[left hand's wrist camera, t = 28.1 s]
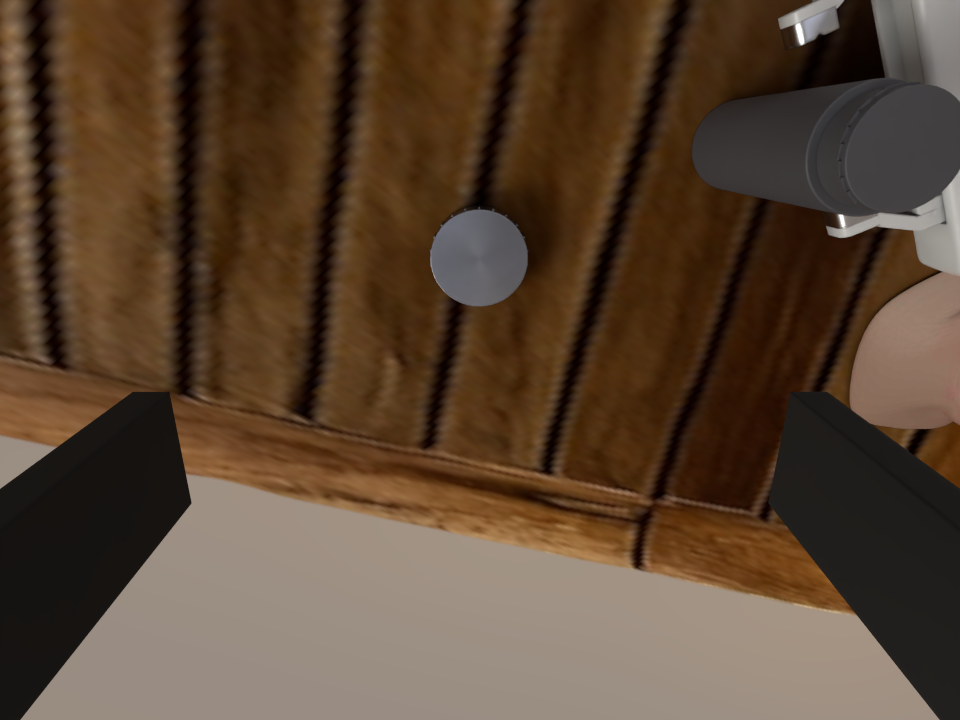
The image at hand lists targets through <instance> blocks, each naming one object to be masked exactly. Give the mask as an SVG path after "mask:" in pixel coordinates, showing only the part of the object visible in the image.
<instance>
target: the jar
mask: <svg viewBox="0 0 960 720" xmlns="http://www.w3.org/2000/svg"><path fill="white" fill-rule="evenodd" d="M692 159H693V163H694V166H695V169H696V171H697V173H698V174H699V176H700V177H701V178H702V179H703V180H704V181H705V182H706V183H708V184H709V185H711V186H713V187H715V188H718V189H722V190H726V191H731V192H736V193H741V194H745V195H750V196H755V197H759V198H764V199H769V200H774V201H778V202H783V203H788V204H793V205H797V206H802V207H807V208H811V209H816V210H821V211H826V212H830V213H835V214H840V215H845V216H852V217H861V216H869V215H873V214H877V213H880V212H883V213H901V212H905V211H909V210H912V209H915V208H918V207H920V206H922V205H924V204H926V203H928V202H929V201H931V200H932V199H934V198H935V197H936V196H938V195H939V194H940V193H941V192H942V191H943V190H944V189H946V188H947V186H948V185H949V184H950V183H951V182H952V181H953V179H954V178H955V176H956V175H957V174H958V172H959V170H960V101H959V100H958V99H957V98H956V97H955V96H954V95H953V94H951V93H950V92H948V91H947V90H945V89H943V88H940V87H938V86H934V85H929V84H923V83H920V82H907V81H904V80H901V79H896V78H878V79H871V80H864V81H857V82H851V83H844V84H837V85H831V86H824V87H817V88H811V89H804V90H798V91H791V92H784V93H778V94H771V95H764V96H758V97H751V98H745V99H738V100H732V101H728V102H726V103H723V104H721V105H719V106H718V107H716V108H715V109H713V110H712V111H711V112H710V113H709V114H708V115H707V116H706V117H705V118H704V119H703V121H702V122H701V123H700V125H699V127H698V129H697V131H696V133H695V136H694V140H693V145H692Z"/></svg>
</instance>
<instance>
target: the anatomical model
mask: <svg viewBox="0 0 960 720" xmlns="http://www.w3.org/2000/svg"><path fill="white" fill-rule="evenodd" d="M850 406H851V410H852V411H854V412H855V413H856V414H858V415H859V416H861V417H862V418H863V419H865V420H866V421H867V422H869V423H870V424H874V425H879V426H887V427H894V428H901V429H930V428H937V427H941V426H945V425H947V424H949V423H951V422H953V421H954V422H955V423H957V424H959V425H960V276H956V275H952V274H948V273H945V272H941V273H939V274H937V275H934V276H932V277H930V278H928V279H926V280H924V281H922V282H920V283H919V284H917V285H915V286H913V287H911V288H910V289H908V290H906V291H904V292H903V293H901V294H899V295H898V296H897V297H895V298H894V299H892V300H891V301H890V302H888V303H887V304H886V305H885V306H884V307H883V308H882V309H881V310H880V311H879V312H878V313H877V314H876V315H875V316H874V318H873V319H872V321H871V322H870V324H869V325H868V327H867V329H866V331H865V333H864V335H863V337H862V340H861V342H860V344H859V347H858V350H857V354H856V357H855V361H854V366H853V370H852V377H851V383H850Z"/></svg>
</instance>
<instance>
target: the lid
mask: <svg viewBox="0 0 960 720" xmlns="http://www.w3.org/2000/svg"><path fill="white" fill-rule="evenodd" d="M433 238H435V239H434V241H433V244H432V247H431V249H430V252H431V258H430V259H431V264H430V265H431V267H432V272H433V275H434V278H435V279H436V281H437V283H438V284H439V286H440V287H441V289H442V290H443V291H444V292H445V293H446V294H447V295H448V296H450V297H451V298H453V299H454V300H456V301H458V302H460V303H463V304H466V305H470V306H489V305H493V304H496V303H498V302H501V301H503V300H504V299H506V298H507V297H509V296H510V295H511V294H512V293H513V292H514V291H515V290H516V289H517V288H518V287H519V285H520V284H521V282H522V280H523V278H524V276H525V273H526V269H527V266H528V248H527V246H526V243H525V240H524V238H525V237H524V234H523V232H522V233H521V231H520V229H519V228H518V225H517V223H516V221H513V220H512V219H511V218H510V217H509V216H508V215H507V214H506V212H502V211H500V210H498V209H496V208H494V206H492V207H489V206H481V205H480V204H478V206H470V207H466V206H465V208H463V209H460V210H458V211H456V212H455V213H454V212H452V215H451V216H449V217H448V218H447V219H446V220H445V221H443V222H442V224H441V227H440V228H439V230H438V232H437V233H435V235H434V237H433Z"/></svg>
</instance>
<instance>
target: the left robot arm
mask: <svg viewBox="0 0 960 720" xmlns="http://www.w3.org/2000/svg"><path fill="white" fill-rule="evenodd" d="M190 505H191V498H190V493H189V488H188V483H187V478H186V473H185V468H184V463H183V458H182V453H181V448H180V443H179V438H178V433H177V428H176V423H175V418H174V413H173V408H172V403H171V398H170V393H169V392H132V393H131V394H130V395H128V396H127V397H125V398H124V399H123V400H121V401H120V402H119V403H117V404H116V405H114V406H113V407H112V408H110V409H109V410H108V411H106V412H105V413H104V414H102V415H101V416H99V417H98V418H97V419H95V420H94V421H93V422H91V423H90V424H88V425H87V426H86V427H84V428H83V429H82V430H80V431H79V432H78V433H76V434H75V435H73V436H72V437H71V438H69V439H68V440H67V441H65V442H64V443H62V444H61V445H60V446H58V447H57V448H56V449H54V450H53V451H52V452H50V453H49V454H47V455H46V456H45V457H43V458H42V459H41V460H39V461H38V462H36V463H35V464H34V465H32V466H31V467H30V468H28V469H27V470H25V471H24V472H23V473H21V474H20V475H19V476H17V477H16V478H15V479H13V480H12V481H10V482H9V483H8V484H6V485H5V486H4V487H2V488H1V489H0V720H20V719H21V718H22V717H23V716H24V714H25V713H26V712H27V711H28V709H29V708H30V707H31V705H32V704H33V703H34V702H35V700H36V699H37V698H38V697H39V695H40V694H41V693H42V692H43V690H44V689H45V688H46V687H47V685H48V684H49V683H50V682H51V680H52V679H53V678H54V676H55V675H56V674H57V673H58V671H59V670H60V669H61V668H62V666H63V665H64V664H65V663H66V661H67V660H68V659H69V657H70V656H71V655H72V654H73V652H74V651H75V650H76V649H77V647H78V646H79V645H80V644H81V642H82V641H83V640H84V639H85V637H86V636H87V635H88V633H89V632H90V631H91V630H92V628H93V627H94V626H95V625H96V623H97V622H98V621H99V620H100V618H101V617H102V616H103V615H104V613H105V612H106V611H107V609H108V608H109V607H110V606H111V604H112V603H113V602H114V601H115V599H116V598H117V597H118V596H119V594H120V593H121V592H122V590H123V589H124V588H125V587H126V585H127V584H128V583H129V582H130V580H131V579H132V578H133V577H134V575H135V574H136V573H137V572H138V570H139V569H140V568H141V566H142V565H143V564H144V563H145V561H146V560H147V559H148V558H149V556H150V555H151V554H152V553H153V551H154V550H155V549H156V547H157V546H158V545H159V544H160V542H161V541H162V540H163V539H164V537H165V536H166V535H167V534H168V532H169V531H170V530H171V529H172V527H173V526H174V525H175V523H176V522H177V521H178V520H179V518H180V517H181V516H182V515H183V513H184V512H185V511H186V510H187V508H188V507H189V506H190ZM769 505H770V506H771V507H772V508H773V510H774V511H775V512H776V513H777V515H778V516H779V517H780V518H781V520H782V521H783V522H784V523H785V525H786V526H787V527H788V529H789V530H790V531H791V532H792V534H793V535H794V536H795V537H796V539H797V540H798V541H799V542H800V544H801V545H802V546H803V547H804V549H805V550H806V551H807V553H808V554H809V555H810V556H811V558H812V559H813V560H814V561H815V563H816V564H817V565H818V566H819V568H820V569H821V570H822V572H823V573H824V574H825V575H826V577H827V578H828V579H829V580H830V582H831V583H832V584H833V585H834V587H835V588H836V589H837V590H838V592H839V593H840V594H841V596H842V597H843V598H844V599H845V601H846V602H847V603H848V604H849V606H850V607H851V608H852V609H853V611H854V612H855V613H856V615H857V616H858V617H859V618H860V619H861V621H862V622H863V623H864V625H865V626H866V627H867V628H868V630H869V631H870V632H871V633H872V635H873V636H874V637H875V639H876V640H877V641H878V642H879V644H880V645H881V646H882V647H883V649H884V650H885V651H886V652H887V654H888V655H889V656H890V657H891V659H892V660H893V661H894V663H895V664H896V665H897V666H898V668H899V669H900V670H901V671H902V673H903V674H904V675H905V676H906V678H907V679H908V680H909V681H910V683H911V684H912V685H913V687H914V688H915V689H916V690H917V692H918V693H919V694H920V695H921V697H922V698H923V699H924V700H925V702H926V703H927V704H928V706H929V707H930V708H931V709H932V711H933V712H934V713H935V714H936V716H937V717H938V718H939V719H940V720H960V489H959V488H958V487H956V486H955V485H954V484H952V483H951V482H950V481H948V480H947V479H945V478H944V477H943V476H941V475H940V474H939V473H937V472H936V471H935V470H933V469H932V468H930V467H929V466H928V465H926V464H925V463H924V462H922V461H921V460H919V459H918V458H917V457H915V456H914V455H913V454H911V453H910V452H908V451H907V450H906V449H904V448H903V447H902V446H900V445H899V444H898V443H896V442H895V441H893V440H892V439H891V438H889V437H888V436H887V435H885V434H884V433H882V432H881V431H880V430H878V429H877V428H876V427H874V426H873V425H872V424H870V423H869V422H867V421H866V420H865V419H863V418H862V417H861V416H859V415H858V414H856V413H855V412H854V411H852V410H851V409H850V408H848V407H847V406H846V405H844V404H843V403H841V402H840V401H839V400H837V399H836V398H835V397H833V396H832V395H830V394H829V393H828V392H791V393H790V398H789V403H788V408H787V413H786V418H785V423H784V428H783V433H782V438H781V443H780V448H779V453H778V458H777V463H776V468H775V473H774V478H773V483H772V488H771V493H770V498H769Z"/></svg>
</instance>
